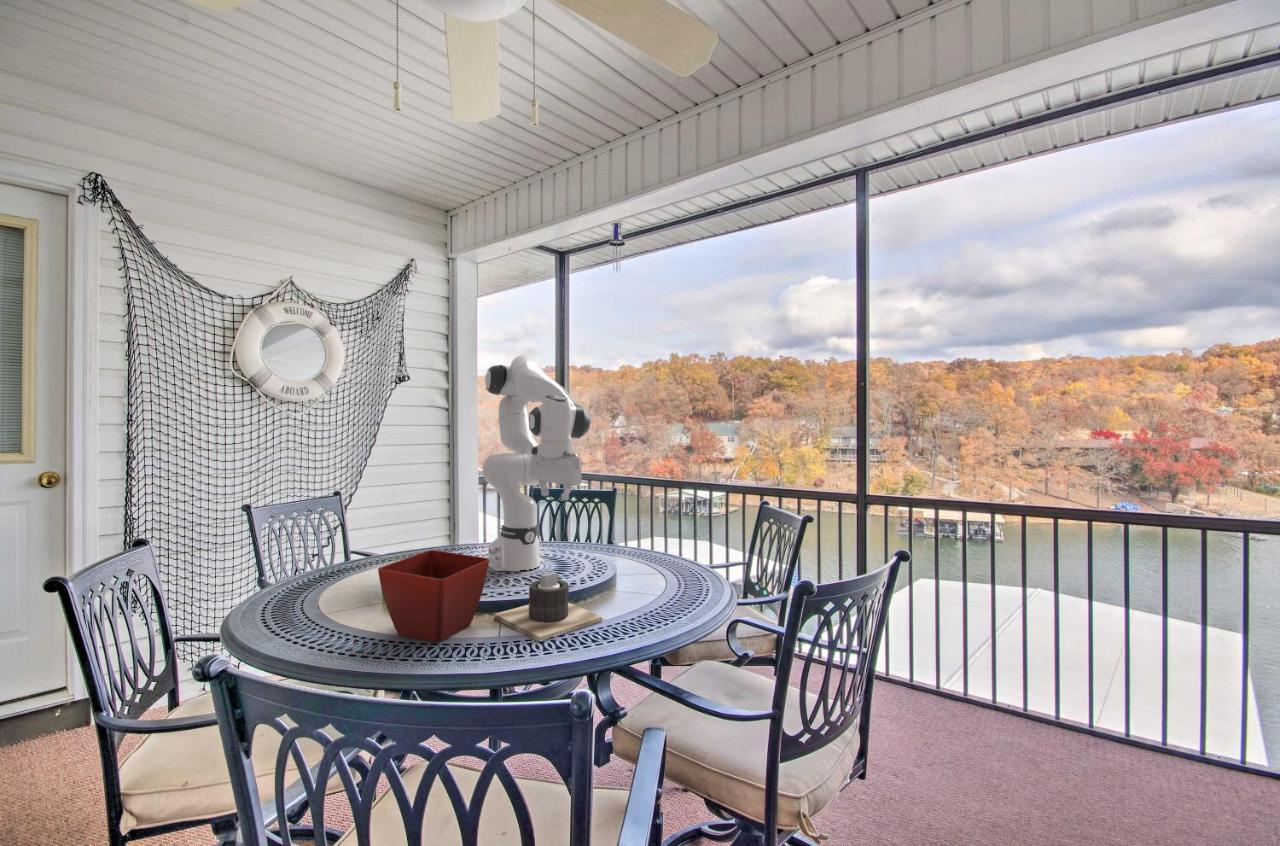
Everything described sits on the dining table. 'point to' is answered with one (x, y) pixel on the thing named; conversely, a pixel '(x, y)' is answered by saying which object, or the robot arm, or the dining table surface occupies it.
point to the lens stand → (547, 613)
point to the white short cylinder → (549, 581)
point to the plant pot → (433, 593)
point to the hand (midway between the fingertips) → (554, 497)
